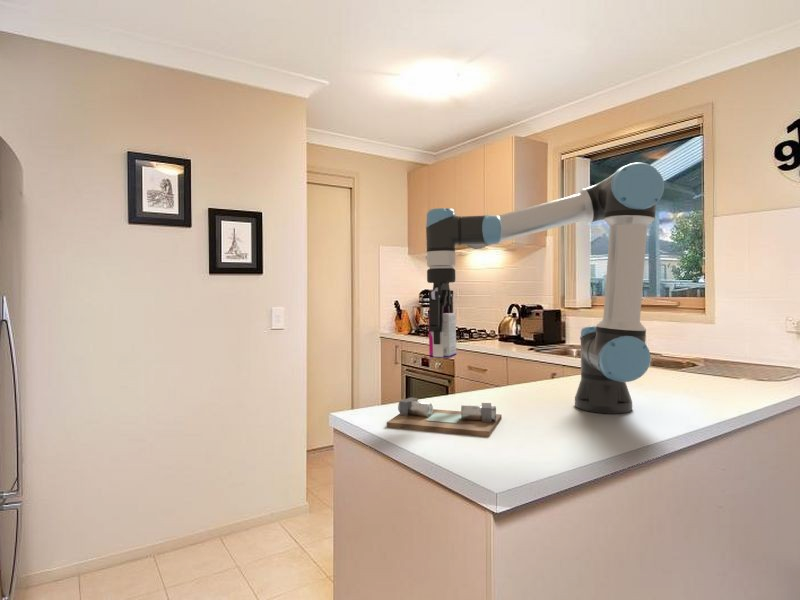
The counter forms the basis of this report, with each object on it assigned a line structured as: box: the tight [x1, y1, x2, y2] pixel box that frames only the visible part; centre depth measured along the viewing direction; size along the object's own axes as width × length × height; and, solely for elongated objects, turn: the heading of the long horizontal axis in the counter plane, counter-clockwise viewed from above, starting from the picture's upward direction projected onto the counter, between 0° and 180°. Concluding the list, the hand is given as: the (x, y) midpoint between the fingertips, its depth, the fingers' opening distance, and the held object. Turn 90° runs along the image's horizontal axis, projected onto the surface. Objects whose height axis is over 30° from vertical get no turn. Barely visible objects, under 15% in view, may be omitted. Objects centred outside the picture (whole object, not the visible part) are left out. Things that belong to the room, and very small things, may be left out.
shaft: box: [397, 397, 434, 417], centre depth 131 cm, size 9×5×4 cm, turn 57°
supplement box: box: [428, 312, 457, 359], centre depth 132 cm, size 6×6×12 cm
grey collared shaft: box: [460, 402, 497, 423], centre depth 125 cm, size 9×5×4 cm, turn 80°
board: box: [386, 408, 503, 438], centre depth 128 cm, size 26×16×1 cm, turn 68°
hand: (442, 354), depth 132 cm, fingers closed on supplement box, 6 cm apart
